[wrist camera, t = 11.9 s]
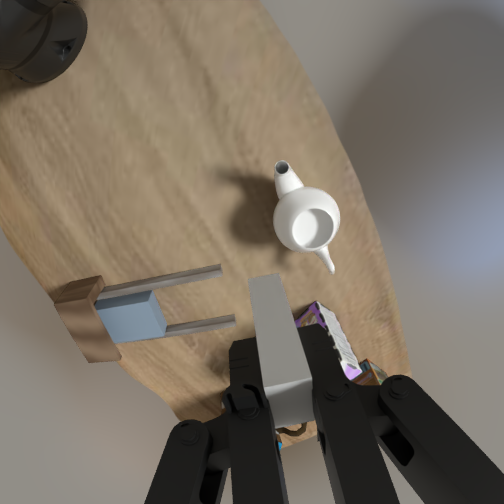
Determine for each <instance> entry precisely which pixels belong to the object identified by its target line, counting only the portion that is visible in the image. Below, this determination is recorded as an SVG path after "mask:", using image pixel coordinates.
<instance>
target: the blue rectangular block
mask: <svg viewBox="0 0 504 504" xmlns="http://www.w3.org/2000/svg"><path fill="white" fill-rule="evenodd" d="M94 307H95V309H96V311H97V313H98V315H99V316H100V318H101V320H102V322H103V324H104V326H105V328H106V329H107V331H108V333H109V335H110V337H111V338H112V340H113V342H114V343H119V342H127V341H135V340H142V339H149V338H156V337H163V336H164V335H165V331H166V326H167V323H166V320H165V318H164V316H163V314H162V311H161V309H160V307H159V304H158V302H157V300H156V297H155V295H154V293H153V290H148V291H143V292H138V293H133V294H128V295H122V296H117V297H112V298H106V299H101V300H98V301H97V302H96V304H95V306H94Z"/></svg>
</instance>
